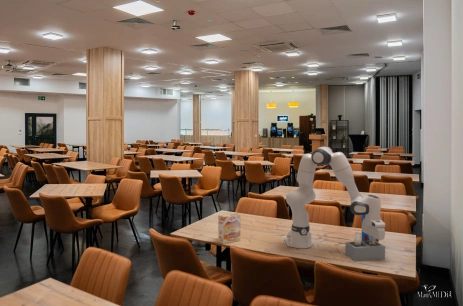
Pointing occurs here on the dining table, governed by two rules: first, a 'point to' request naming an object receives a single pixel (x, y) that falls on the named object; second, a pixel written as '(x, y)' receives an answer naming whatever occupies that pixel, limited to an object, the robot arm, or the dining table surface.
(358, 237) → the nylon peg
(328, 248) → the dining table surface
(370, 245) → the socket block
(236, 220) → the coffeecake box
